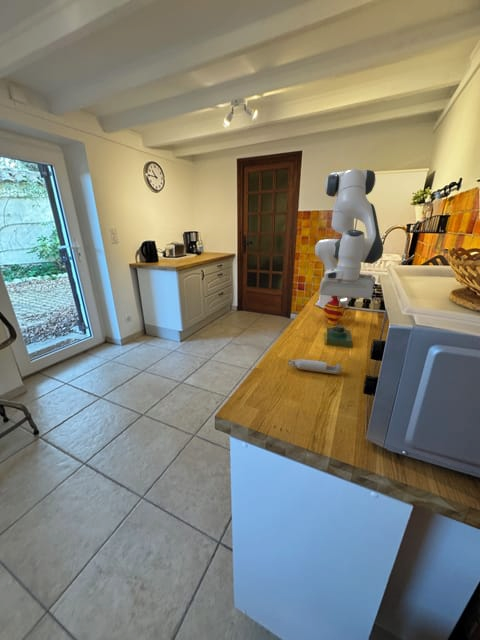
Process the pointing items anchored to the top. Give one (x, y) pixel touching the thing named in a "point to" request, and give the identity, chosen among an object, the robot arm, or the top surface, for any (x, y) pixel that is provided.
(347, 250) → the robot arm
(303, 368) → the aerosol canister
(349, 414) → the top surface
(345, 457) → the top surface
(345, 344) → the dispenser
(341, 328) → the pump
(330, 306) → the potion bottle
